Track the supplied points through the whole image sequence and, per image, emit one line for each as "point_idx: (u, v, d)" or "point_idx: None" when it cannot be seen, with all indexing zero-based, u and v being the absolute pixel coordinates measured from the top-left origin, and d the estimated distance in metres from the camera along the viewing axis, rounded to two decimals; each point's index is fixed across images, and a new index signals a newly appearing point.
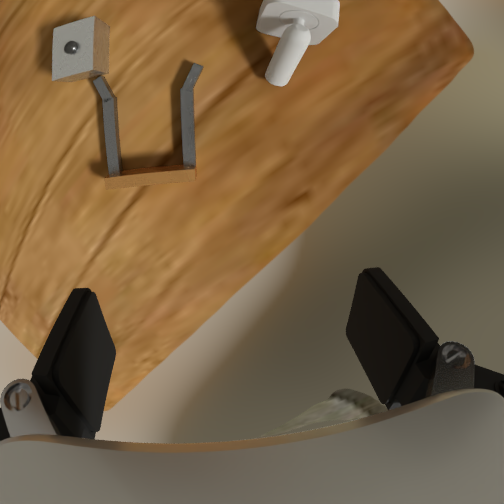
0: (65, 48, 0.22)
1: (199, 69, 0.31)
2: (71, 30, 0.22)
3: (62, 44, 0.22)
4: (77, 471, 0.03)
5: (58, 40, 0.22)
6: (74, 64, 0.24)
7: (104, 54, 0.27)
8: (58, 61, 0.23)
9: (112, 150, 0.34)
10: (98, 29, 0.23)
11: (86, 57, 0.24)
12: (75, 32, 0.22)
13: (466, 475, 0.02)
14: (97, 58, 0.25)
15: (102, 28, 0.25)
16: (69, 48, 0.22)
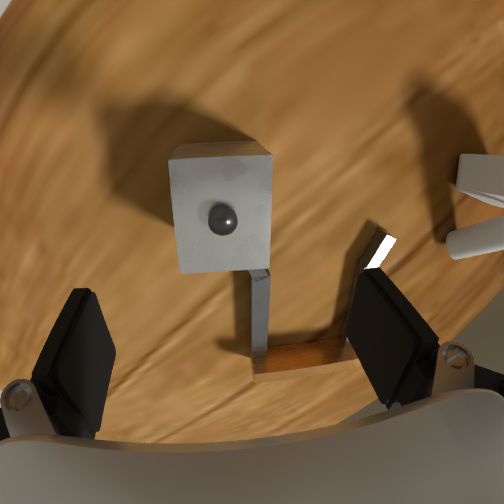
0: (211, 223, 0.16)
1: (391, 243, 0.25)
2: (218, 177, 0.16)
3: (198, 205, 0.16)
4: (77, 471, 0.03)
5: (185, 194, 0.16)
6: (229, 253, 0.18)
7: None
8: (191, 240, 0.17)
9: (260, 337, 0.28)
10: None
11: (256, 244, 0.18)
12: (227, 183, 0.16)
13: (466, 475, 0.02)
14: None
15: None
16: (221, 225, 0.16)
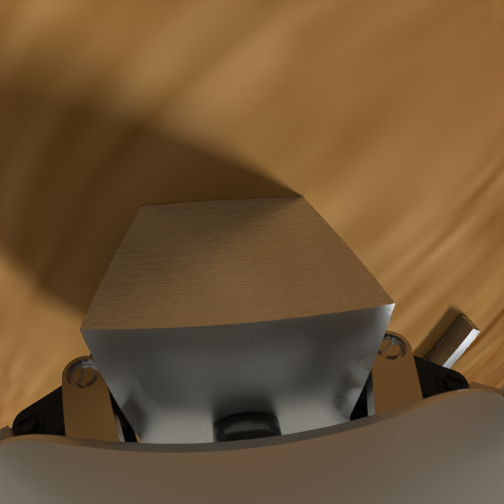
0: None
1: (473, 337, 0.14)
2: (234, 370, 0.05)
3: (186, 415, 0.06)
4: (77, 471, 0.03)
5: (149, 399, 0.05)
6: None
7: None
8: None
9: None
10: None
11: None
12: (261, 379, 0.05)
13: (466, 475, 0.02)
14: None
15: None
16: None
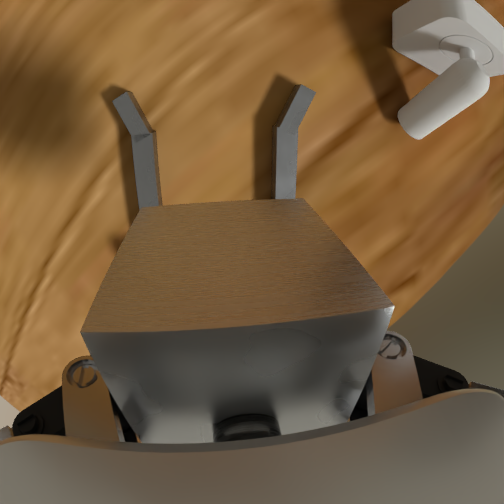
0: None
1: (310, 97, 0.19)
2: (234, 373, 0.05)
3: (187, 416, 0.06)
4: (77, 471, 0.03)
5: (149, 401, 0.05)
6: None
7: None
8: None
9: None
10: None
11: None
12: (261, 381, 0.05)
13: (466, 475, 0.02)
14: None
15: None
16: None
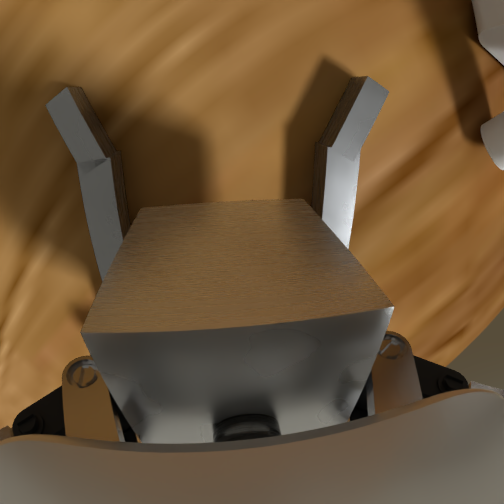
0: None
1: (380, 98, 0.10)
2: (234, 373, 0.05)
3: (187, 417, 0.06)
4: (77, 471, 0.03)
5: (149, 401, 0.05)
6: None
7: None
8: None
9: None
10: None
11: None
12: (260, 381, 0.05)
13: (466, 475, 0.02)
14: None
15: None
16: None
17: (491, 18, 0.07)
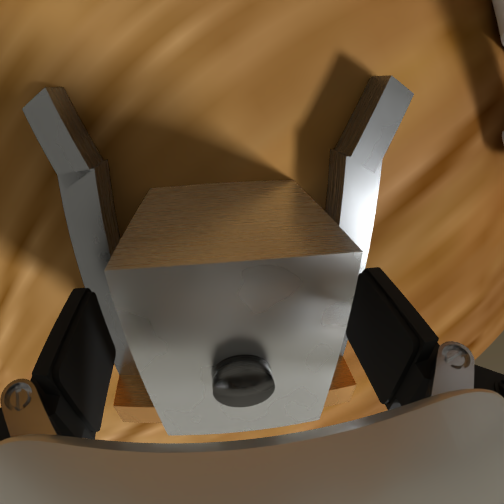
0: (220, 393, 0.07)
1: (404, 101, 0.09)
2: (230, 308, 0.07)
3: (189, 357, 0.07)
4: (77, 471, 0.03)
5: (157, 340, 0.07)
6: (253, 414, 0.09)
7: None
8: (181, 403, 0.08)
9: (117, 330, 0.12)
10: None
11: (303, 399, 0.09)
12: (252, 318, 0.07)
13: (466, 475, 0.02)
14: None
15: None
16: (240, 395, 0.07)
17: None
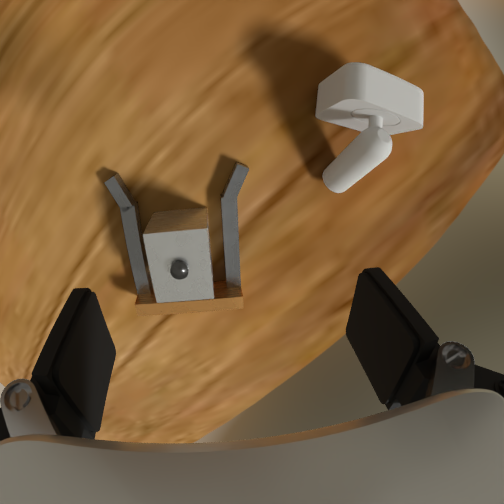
0: (172, 272, 0.25)
1: (244, 172, 0.28)
2: (174, 244, 0.25)
3: (164, 261, 0.26)
4: (77, 471, 0.03)
5: (155, 254, 0.25)
6: (186, 289, 0.27)
7: None
8: (161, 282, 0.26)
9: (139, 269, 0.30)
10: (208, 237, 0.27)
11: (203, 283, 0.27)
12: (180, 247, 0.25)
13: (466, 475, 0.02)
14: None
15: None
16: (178, 273, 0.26)
17: (318, 106, 0.25)
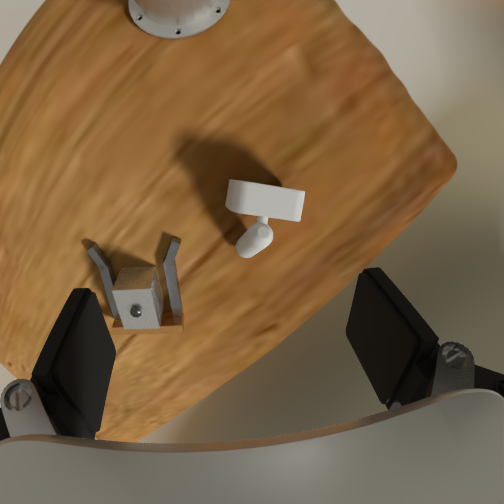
0: (131, 313, 0.38)
1: (177, 246, 0.40)
2: (131, 296, 0.38)
3: (126, 306, 0.38)
4: (77, 471, 0.03)
5: (120, 302, 0.38)
6: (142, 322, 0.40)
7: (159, 297, 0.43)
8: (126, 317, 0.39)
9: (114, 304, 0.43)
10: (153, 291, 0.40)
11: (151, 319, 0.40)
12: (135, 298, 0.38)
13: (466, 475, 0.02)
14: (158, 313, 0.41)
15: (154, 282, 0.41)
16: (135, 314, 0.38)
17: (226, 201, 0.37)
